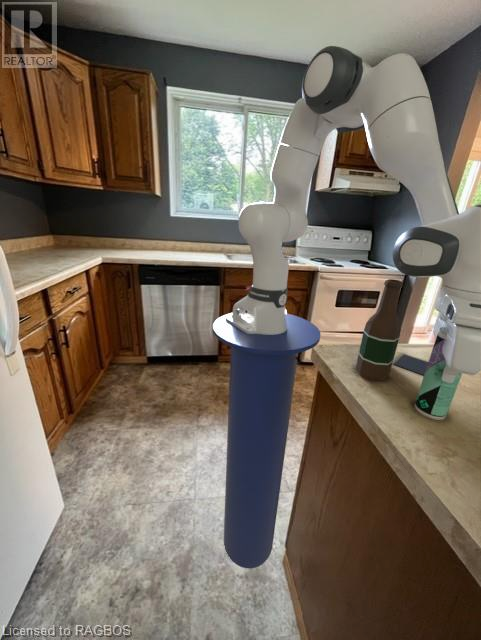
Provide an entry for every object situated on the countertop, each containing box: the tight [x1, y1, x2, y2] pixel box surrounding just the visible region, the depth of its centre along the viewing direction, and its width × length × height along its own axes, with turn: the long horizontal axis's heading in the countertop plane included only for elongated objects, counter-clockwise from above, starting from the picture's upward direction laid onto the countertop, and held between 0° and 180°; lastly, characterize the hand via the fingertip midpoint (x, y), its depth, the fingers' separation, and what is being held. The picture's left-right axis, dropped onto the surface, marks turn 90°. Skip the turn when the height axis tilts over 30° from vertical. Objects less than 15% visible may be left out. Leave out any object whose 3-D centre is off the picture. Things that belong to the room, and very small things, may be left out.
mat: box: [393, 353, 429, 376], centre depth 74 cm, size 10×9×1 cm
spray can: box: [414, 327, 463, 421], centre depth 52 cm, size 6×6×20 cm
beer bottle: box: [355, 278, 404, 382], centre depth 65 cm, size 8×8×24 cm
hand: (443, 372), depth 53 cm, fingers closed on spray can, 5 cm apart
